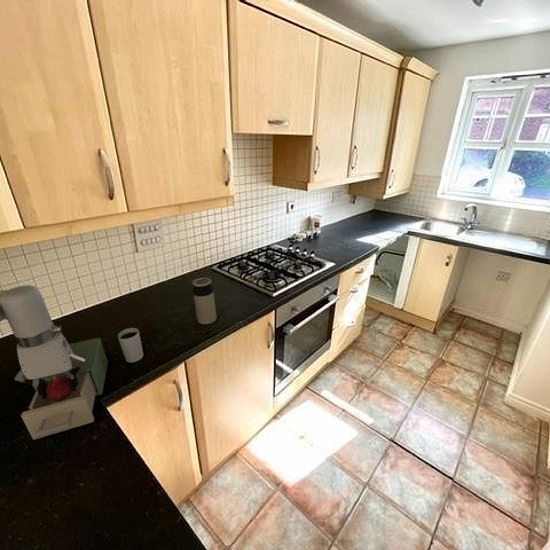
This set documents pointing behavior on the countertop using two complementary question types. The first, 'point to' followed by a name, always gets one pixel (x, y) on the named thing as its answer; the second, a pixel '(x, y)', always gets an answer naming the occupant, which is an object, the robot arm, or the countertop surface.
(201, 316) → the travel mug
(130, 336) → the grey cup
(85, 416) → the drawer
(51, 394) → the onion
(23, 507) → the countertop surface
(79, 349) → the cabinet
